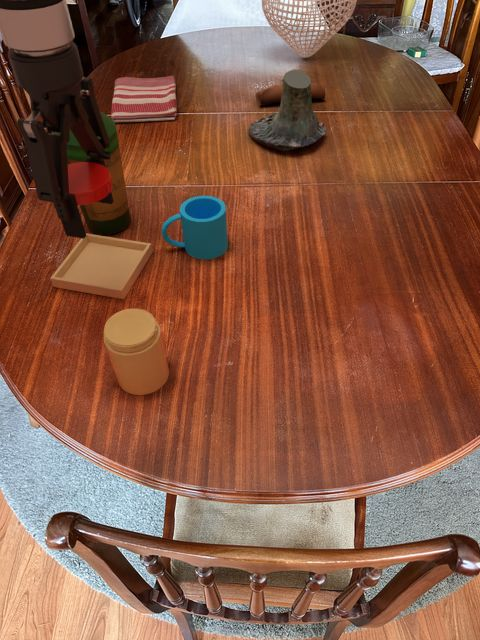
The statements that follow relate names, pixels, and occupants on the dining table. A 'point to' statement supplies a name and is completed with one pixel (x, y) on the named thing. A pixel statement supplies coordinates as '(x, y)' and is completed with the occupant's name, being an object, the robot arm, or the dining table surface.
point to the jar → (136, 351)
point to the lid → (89, 182)
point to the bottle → (116, 214)
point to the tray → (102, 266)
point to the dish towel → (144, 99)
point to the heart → (324, 40)
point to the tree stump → (290, 117)
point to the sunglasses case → (275, 94)
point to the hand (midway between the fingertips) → (90, 217)
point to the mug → (201, 227)
